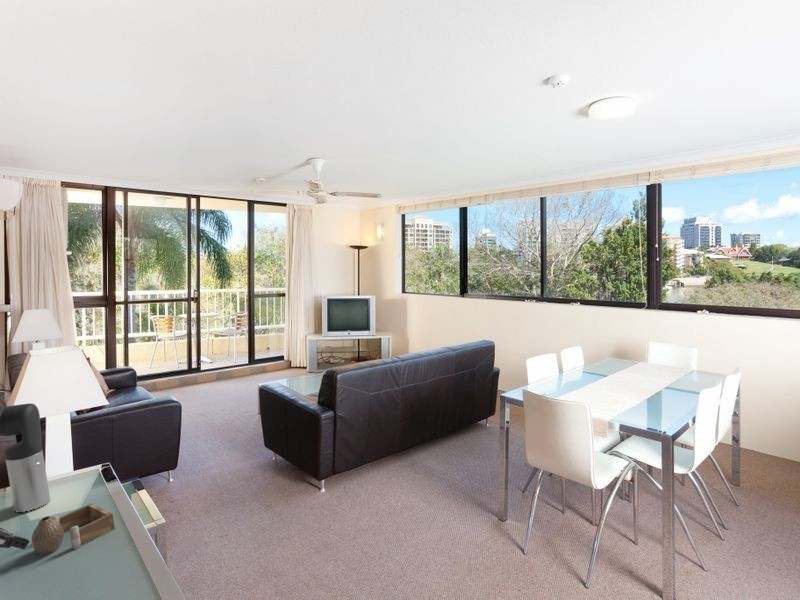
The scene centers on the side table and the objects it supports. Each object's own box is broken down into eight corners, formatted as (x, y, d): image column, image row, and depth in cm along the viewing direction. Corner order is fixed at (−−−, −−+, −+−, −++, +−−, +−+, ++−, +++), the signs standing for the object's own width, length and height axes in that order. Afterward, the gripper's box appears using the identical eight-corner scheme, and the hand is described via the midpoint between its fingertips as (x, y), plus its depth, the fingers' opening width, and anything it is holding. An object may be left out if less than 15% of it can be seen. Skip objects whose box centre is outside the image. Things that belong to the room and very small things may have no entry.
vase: (48, 558, 121) (43, 526, 121) (27, 557, 123) (21, 525, 122) (72, 542, 128) (67, 511, 127) (51, 540, 130) (46, 511, 129)
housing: (51, 536, 132) (48, 517, 131) (91, 517, 141) (89, 499, 140) (74, 550, 124) (71, 530, 124) (115, 529, 133) (113, 510, 132)
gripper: (-23, 515, 108) (47, 535, 120) (-42, 502, 115) (26, 522, 127) (-50, 550, 104) (25, 567, 116) (-67, 534, 111) (5, 552, 123)
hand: (26, 544), depth 121 cm, fingers closed
